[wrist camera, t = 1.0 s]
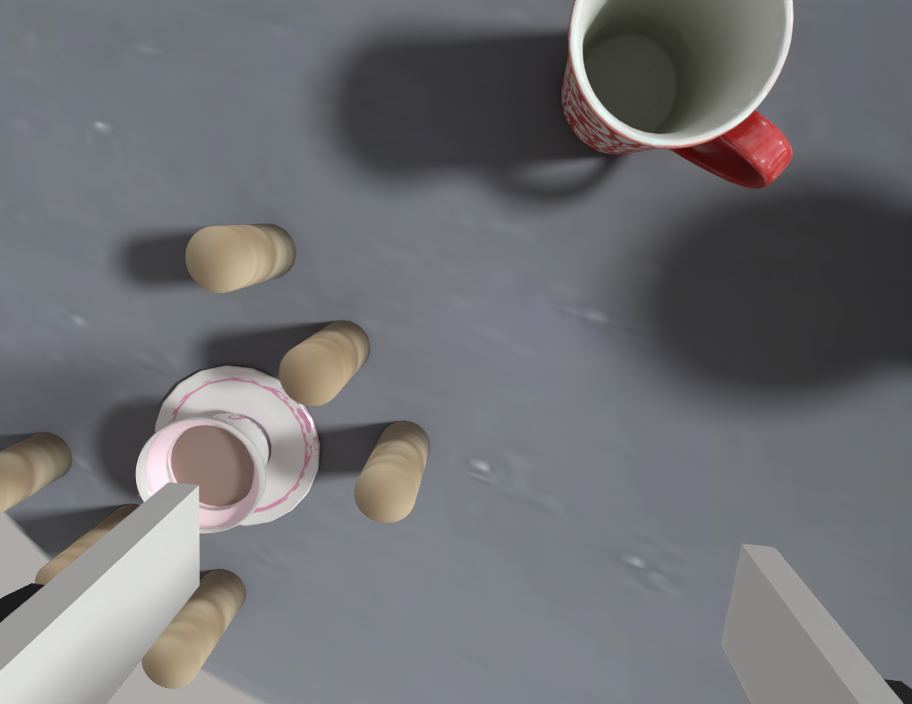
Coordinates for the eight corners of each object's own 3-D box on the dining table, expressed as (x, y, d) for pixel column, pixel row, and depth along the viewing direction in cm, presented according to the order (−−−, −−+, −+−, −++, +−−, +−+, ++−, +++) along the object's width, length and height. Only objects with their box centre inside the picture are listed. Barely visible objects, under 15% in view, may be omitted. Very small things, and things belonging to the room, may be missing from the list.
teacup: (280, 340, 44) (245, 360, 38) (347, 492, 46) (325, 534, 40) (130, 397, 45) (73, 425, 39) (201, 542, 47) (158, 589, 41)
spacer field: (14, 452, 47) (-83, 500, 39) (269, 212, 42) (217, 212, 34) (200, 638, 49) (144, 718, 41) (462, 431, 44) (454, 478, 36)
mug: (513, 93, 39) (522, 32, 26) (625, -22, 38) (695, -149, 24) (649, 241, 41) (722, 255, 27) (763, 137, 39) (899, 98, 26)
